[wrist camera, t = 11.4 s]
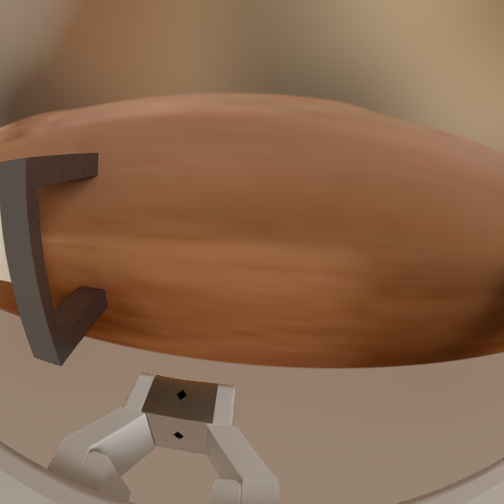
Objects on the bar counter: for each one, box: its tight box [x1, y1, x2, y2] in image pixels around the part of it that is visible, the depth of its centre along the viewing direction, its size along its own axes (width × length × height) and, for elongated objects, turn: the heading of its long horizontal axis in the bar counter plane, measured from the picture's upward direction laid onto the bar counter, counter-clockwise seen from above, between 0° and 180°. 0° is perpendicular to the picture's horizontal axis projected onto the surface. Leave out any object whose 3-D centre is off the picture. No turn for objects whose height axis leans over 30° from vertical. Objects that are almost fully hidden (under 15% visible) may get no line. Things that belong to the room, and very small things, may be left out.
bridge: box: [0, 153, 107, 366], centre depth 19 cm, size 3×15×10 cm, turn 176°
